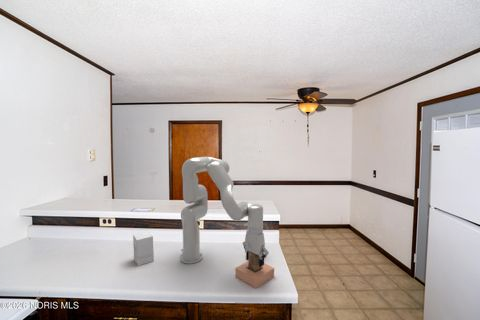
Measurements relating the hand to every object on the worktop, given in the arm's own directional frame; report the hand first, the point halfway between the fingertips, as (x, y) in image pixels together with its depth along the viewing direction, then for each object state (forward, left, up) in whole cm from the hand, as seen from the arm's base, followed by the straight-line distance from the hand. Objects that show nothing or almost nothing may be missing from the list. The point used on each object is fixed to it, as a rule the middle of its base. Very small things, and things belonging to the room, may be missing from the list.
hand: (254, 262), depth 123 cm
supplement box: (-55, -34, -8) cm, 65 cm away
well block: (0, 0, -7) cm, 7 cm away
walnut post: (0, 0, -7) cm, 7 cm away
